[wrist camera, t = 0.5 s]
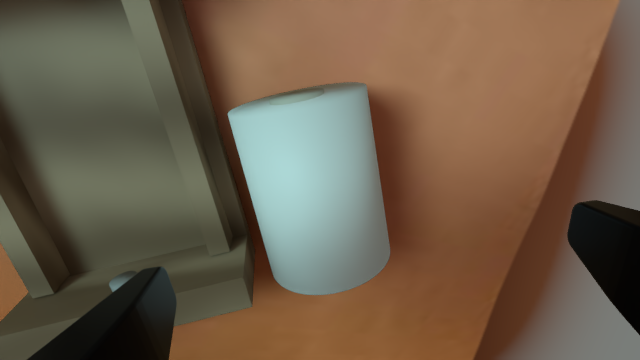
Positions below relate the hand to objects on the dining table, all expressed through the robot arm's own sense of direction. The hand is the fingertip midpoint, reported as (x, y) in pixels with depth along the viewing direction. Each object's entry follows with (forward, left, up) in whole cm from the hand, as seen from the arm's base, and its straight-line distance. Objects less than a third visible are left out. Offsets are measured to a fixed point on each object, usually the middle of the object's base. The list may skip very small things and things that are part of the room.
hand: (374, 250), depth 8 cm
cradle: (+2, +10, -12) cm, 16 cm away
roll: (-2, +1, -12) cm, 12 cm away
